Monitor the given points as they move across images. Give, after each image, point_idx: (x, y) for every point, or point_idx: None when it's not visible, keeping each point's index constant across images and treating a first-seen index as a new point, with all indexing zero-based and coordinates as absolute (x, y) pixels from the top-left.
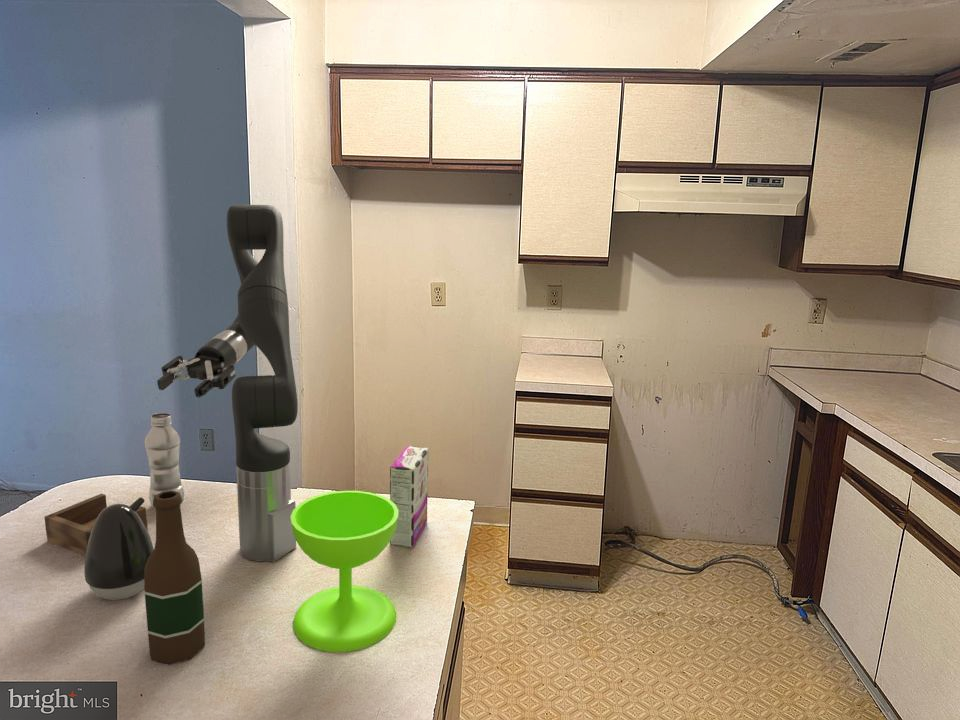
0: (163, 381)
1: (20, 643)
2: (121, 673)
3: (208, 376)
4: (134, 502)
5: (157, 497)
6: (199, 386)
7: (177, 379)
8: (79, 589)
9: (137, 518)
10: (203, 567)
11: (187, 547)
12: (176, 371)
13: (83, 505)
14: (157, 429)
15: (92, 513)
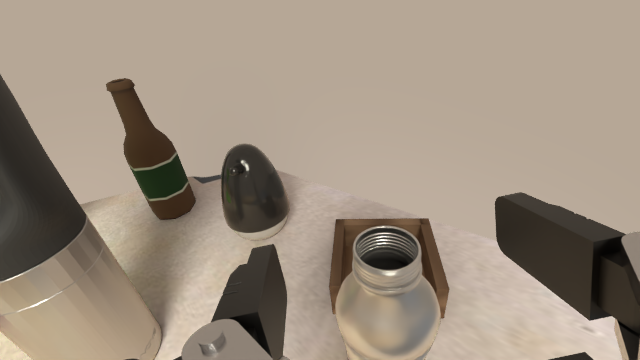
0: (514, 214)
1: (288, 178)
2: (203, 186)
3: (242, 349)
4: (236, 166)
5: (125, 78)
6: (254, 257)
7: (623, 357)
8: (302, 216)
9: (223, 167)
10: (200, 282)
11: (126, 135)
12: (633, 283)
13: (428, 257)
14: (374, 256)
15: (429, 282)
